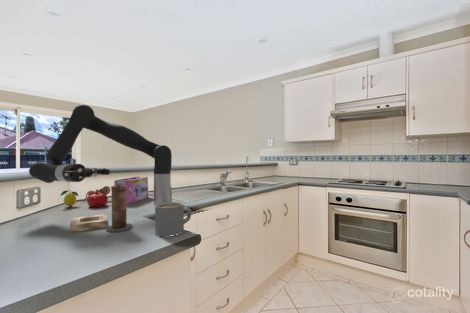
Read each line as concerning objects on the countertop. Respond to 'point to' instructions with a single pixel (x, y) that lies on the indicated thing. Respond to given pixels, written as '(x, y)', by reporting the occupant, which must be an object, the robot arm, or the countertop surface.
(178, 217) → the coffee mug
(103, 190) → the lion figurine
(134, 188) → the gum box
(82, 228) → the holder
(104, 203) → the pomegranate
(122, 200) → the pepper mill
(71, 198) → the lemon
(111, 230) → the coaster
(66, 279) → the countertop surface
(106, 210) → the countertop surface
